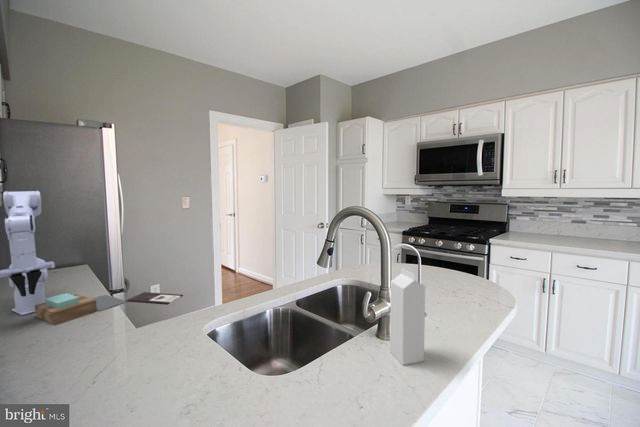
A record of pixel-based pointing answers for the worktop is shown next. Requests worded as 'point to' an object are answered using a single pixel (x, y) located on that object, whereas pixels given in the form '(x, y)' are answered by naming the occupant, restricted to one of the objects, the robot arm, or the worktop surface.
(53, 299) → the teal rectangular block
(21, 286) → the robot arm
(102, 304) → the mat
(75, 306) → the brown flat block
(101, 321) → the worktop surface
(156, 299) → the chocolate bar
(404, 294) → the milk
